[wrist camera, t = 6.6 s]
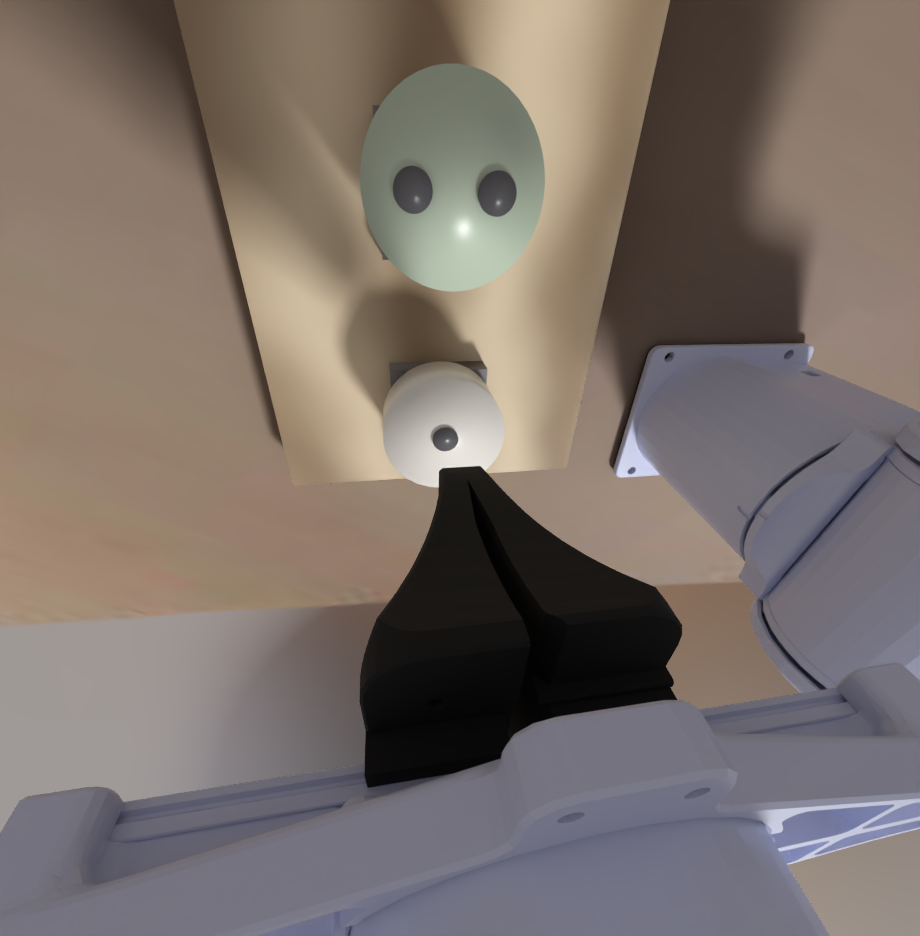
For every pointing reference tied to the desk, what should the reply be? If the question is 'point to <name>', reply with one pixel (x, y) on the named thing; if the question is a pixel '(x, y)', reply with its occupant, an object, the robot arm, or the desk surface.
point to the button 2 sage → (452, 177)
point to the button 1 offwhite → (440, 422)
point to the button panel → (349, 235)
